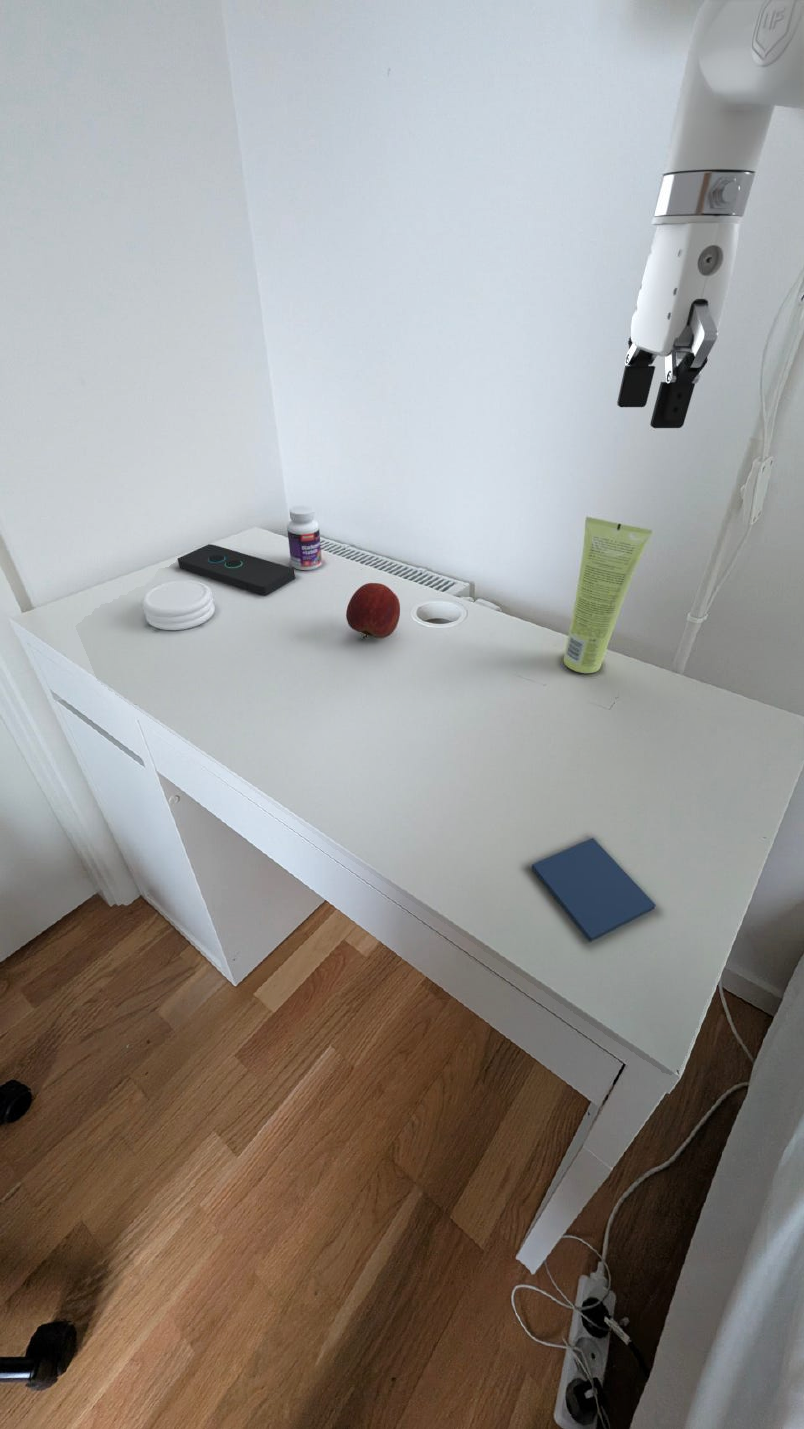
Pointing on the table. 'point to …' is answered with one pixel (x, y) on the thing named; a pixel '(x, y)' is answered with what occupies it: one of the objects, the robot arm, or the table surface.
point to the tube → (601, 589)
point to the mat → (592, 888)
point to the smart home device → (237, 569)
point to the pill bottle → (304, 539)
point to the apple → (373, 610)
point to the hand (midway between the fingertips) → (647, 416)
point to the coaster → (178, 605)
